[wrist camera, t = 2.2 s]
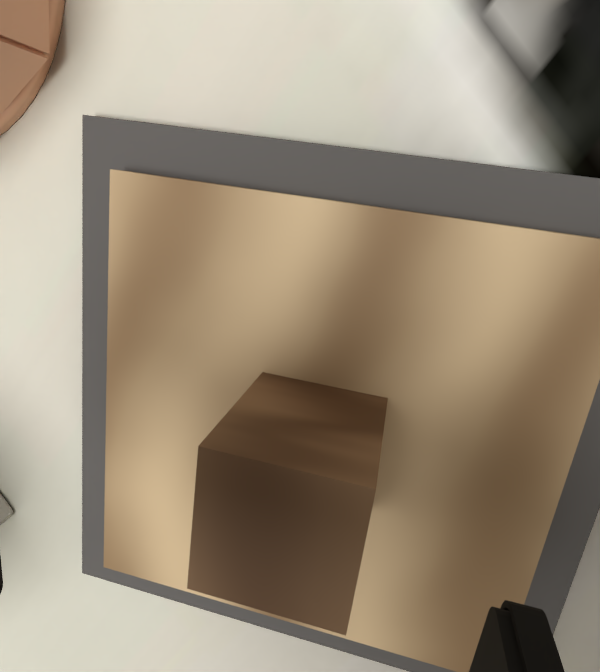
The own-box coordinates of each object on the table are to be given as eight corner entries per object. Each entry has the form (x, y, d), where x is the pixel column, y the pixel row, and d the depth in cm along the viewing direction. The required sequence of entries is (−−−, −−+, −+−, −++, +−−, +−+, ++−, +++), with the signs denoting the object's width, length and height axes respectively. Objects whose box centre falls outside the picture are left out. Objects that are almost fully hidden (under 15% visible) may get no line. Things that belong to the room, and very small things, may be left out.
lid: (631, 242, 13) (784, 274, 8) (493, 663, 18) (529, 871, 12) (124, 170, 16) (-29, 156, 10) (114, 553, 20) (4, 684, 15)
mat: (702, 193, 13) (714, 192, 13) (523, 690, 18) (526, 706, 18) (94, 117, 16) (82, 115, 16) (91, 563, 21) (82, 572, 21)
